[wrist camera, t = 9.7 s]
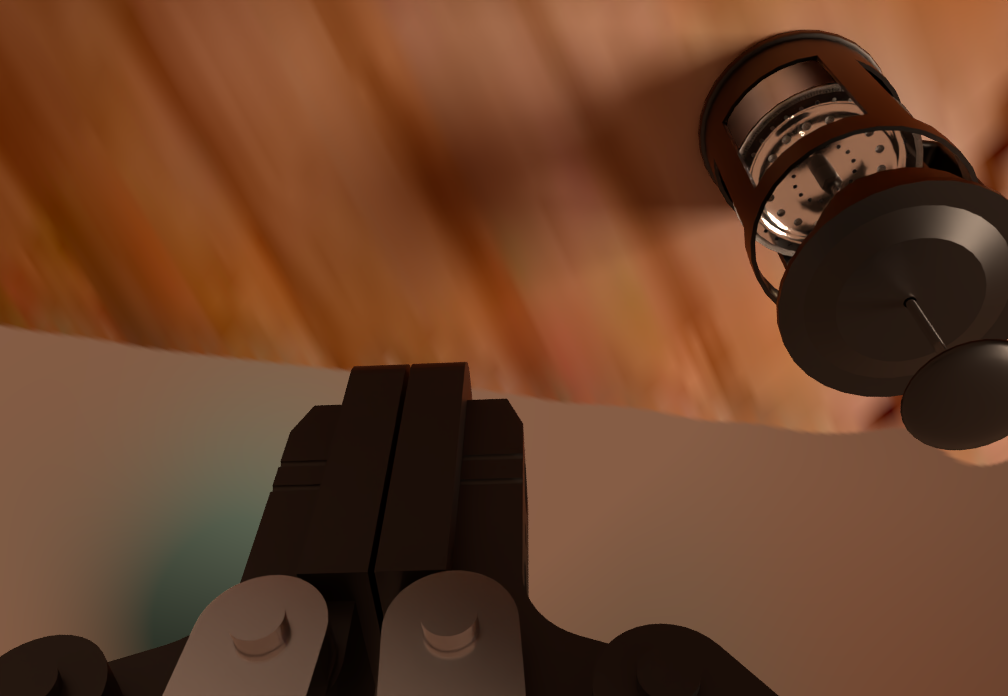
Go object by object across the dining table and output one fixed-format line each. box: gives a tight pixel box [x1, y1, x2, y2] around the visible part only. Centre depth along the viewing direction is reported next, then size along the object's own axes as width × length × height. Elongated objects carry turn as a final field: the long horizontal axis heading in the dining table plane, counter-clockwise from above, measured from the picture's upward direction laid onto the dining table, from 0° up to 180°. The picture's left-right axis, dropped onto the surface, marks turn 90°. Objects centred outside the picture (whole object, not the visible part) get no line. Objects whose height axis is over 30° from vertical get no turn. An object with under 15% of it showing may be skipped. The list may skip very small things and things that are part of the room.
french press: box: [698, 30, 1008, 450], centre depth 36 cm, size 12×9×23 cm
